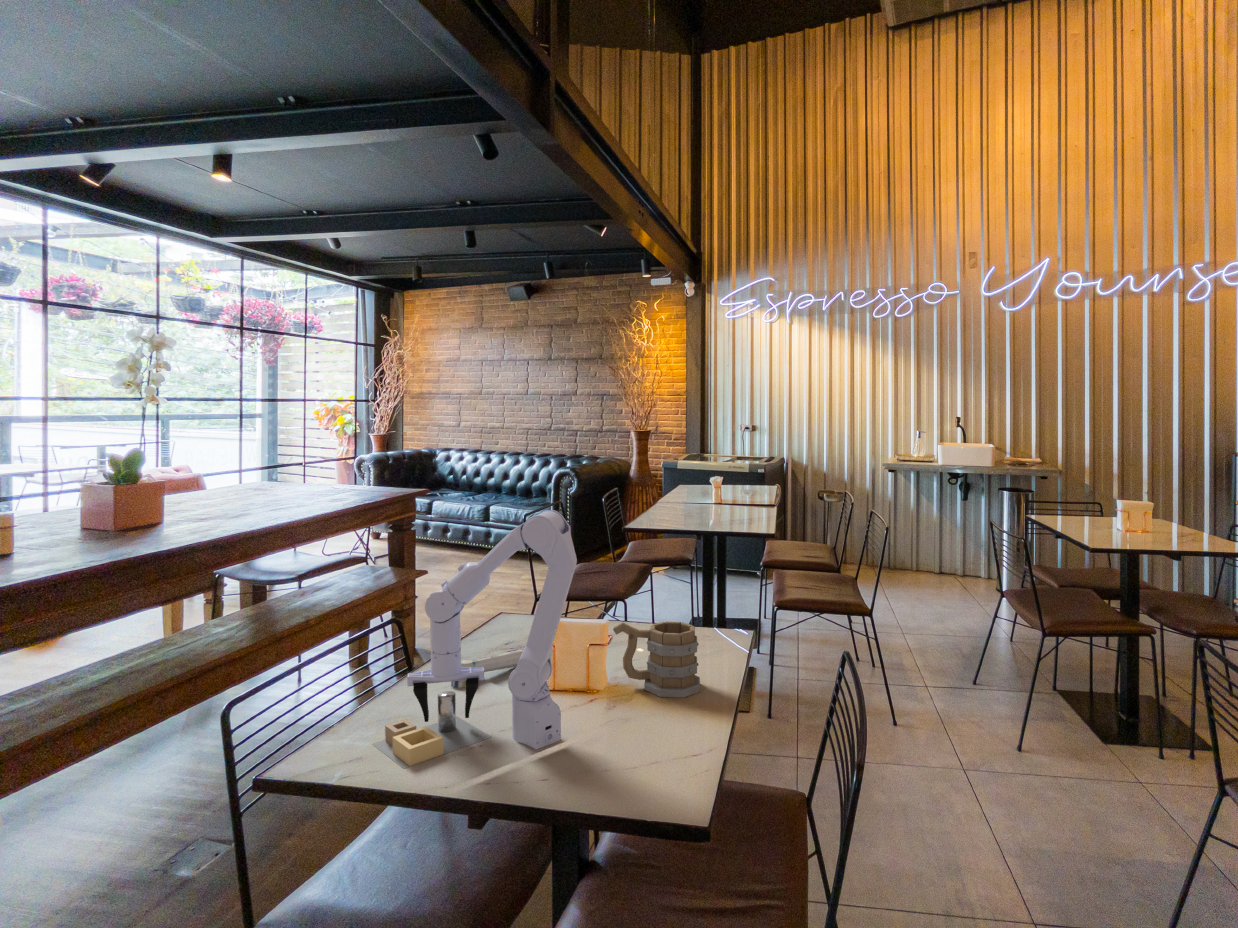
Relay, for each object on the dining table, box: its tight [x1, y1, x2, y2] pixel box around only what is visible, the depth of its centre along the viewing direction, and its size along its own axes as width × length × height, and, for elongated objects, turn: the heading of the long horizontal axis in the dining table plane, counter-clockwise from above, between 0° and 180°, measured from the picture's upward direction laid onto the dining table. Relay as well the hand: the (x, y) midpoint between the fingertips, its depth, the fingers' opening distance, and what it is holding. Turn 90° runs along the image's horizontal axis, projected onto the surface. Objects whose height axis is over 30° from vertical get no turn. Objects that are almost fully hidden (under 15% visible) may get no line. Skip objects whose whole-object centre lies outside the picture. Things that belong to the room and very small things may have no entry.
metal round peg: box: [437, 690, 457, 733], centre depth 137 cm, size 3×3×7 cm
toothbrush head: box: [450, 647, 525, 689], centre depth 169 cm, size 5×7×25 cm
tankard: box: [612, 621, 701, 699], centre depth 161 cm, size 20×13×15 cm, turn 84°
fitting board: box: [371, 715, 492, 770], centre depth 132 cm, size 13×18×4 cm
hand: (446, 717), depth 137 cm, fingers open, 7 cm apart
